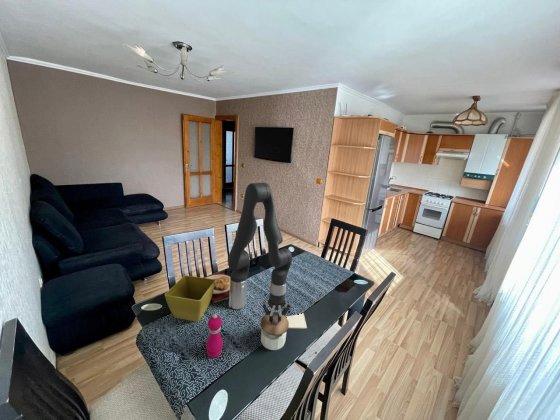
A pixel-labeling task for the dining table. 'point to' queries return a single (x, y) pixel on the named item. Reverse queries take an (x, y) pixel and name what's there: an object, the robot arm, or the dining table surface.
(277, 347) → the bowl
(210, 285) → the flower pot
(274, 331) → the lid
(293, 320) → the mat
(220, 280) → the plate with food
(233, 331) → the dining table surface
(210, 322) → the pepper mill
